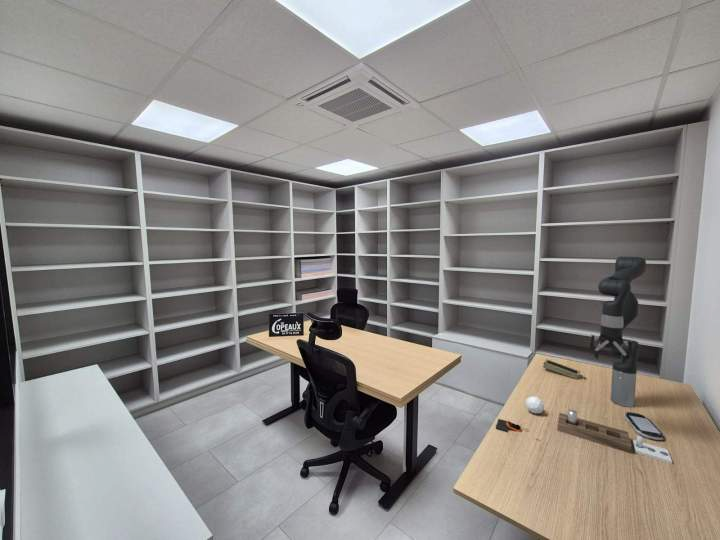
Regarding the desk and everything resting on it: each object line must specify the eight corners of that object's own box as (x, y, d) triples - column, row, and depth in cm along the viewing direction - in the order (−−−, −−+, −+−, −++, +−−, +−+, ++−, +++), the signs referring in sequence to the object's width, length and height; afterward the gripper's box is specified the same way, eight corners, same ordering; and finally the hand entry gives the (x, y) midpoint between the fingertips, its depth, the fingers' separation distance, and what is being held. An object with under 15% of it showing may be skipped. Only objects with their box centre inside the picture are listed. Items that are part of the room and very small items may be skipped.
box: (543, 365, 197) (545, 358, 196) (585, 380, 183) (587, 373, 182) (541, 369, 191) (543, 362, 190) (584, 385, 177) (586, 378, 176)
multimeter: (545, 431, 131) (545, 424, 130) (540, 446, 121) (541, 438, 121) (501, 417, 142) (501, 410, 142) (494, 429, 133) (494, 422, 132)
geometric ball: (532, 419, 144) (524, 408, 142) (529, 405, 151) (521, 394, 149) (549, 415, 140) (541, 404, 139) (544, 401, 147) (536, 390, 145)
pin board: (559, 418, 139) (559, 412, 139) (627, 438, 125) (628, 431, 125) (557, 430, 131) (557, 424, 130) (630, 453, 116) (631, 446, 116)
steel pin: (567, 425, 134) (568, 408, 133) (576, 428, 132) (577, 411, 132) (567, 429, 132) (568, 411, 131) (576, 431, 130) (577, 414, 129)
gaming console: (621, 414, 143) (621, 409, 143) (645, 419, 139) (646, 413, 139) (639, 438, 125) (640, 433, 125) (668, 444, 122) (668, 438, 122)
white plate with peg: (632, 441, 123) (633, 430, 122) (667, 451, 117) (668, 439, 116) (635, 452, 116) (636, 440, 116) (671, 463, 110) (672, 451, 110)
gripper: (632, 325, 129) (629, 361, 130) (591, 320, 138) (589, 354, 139) (634, 329, 123) (632, 367, 124) (591, 324, 132) (589, 359, 133)
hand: (609, 360), depth 132 cm, fingers open, 8 cm apart
